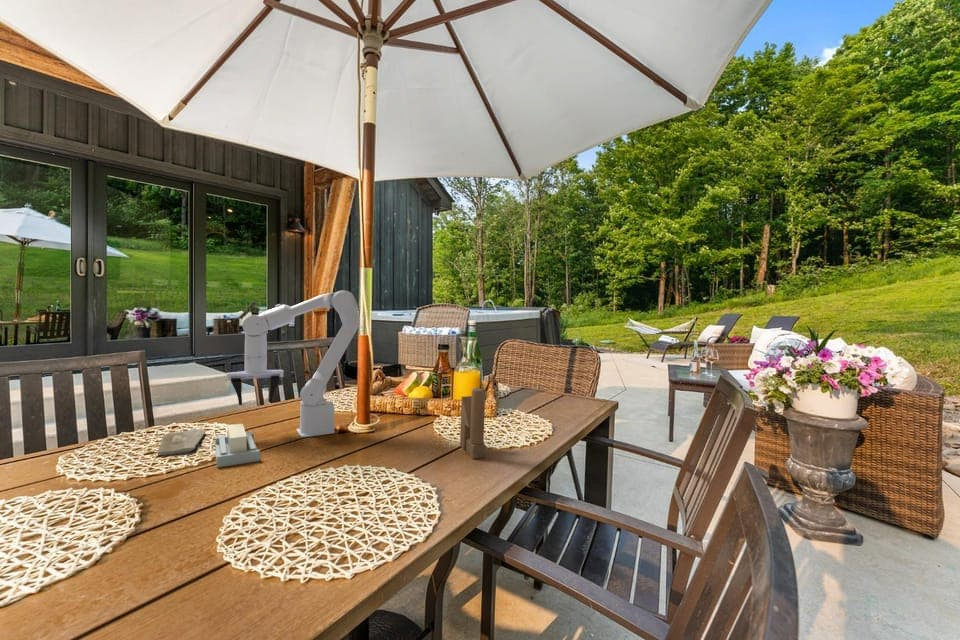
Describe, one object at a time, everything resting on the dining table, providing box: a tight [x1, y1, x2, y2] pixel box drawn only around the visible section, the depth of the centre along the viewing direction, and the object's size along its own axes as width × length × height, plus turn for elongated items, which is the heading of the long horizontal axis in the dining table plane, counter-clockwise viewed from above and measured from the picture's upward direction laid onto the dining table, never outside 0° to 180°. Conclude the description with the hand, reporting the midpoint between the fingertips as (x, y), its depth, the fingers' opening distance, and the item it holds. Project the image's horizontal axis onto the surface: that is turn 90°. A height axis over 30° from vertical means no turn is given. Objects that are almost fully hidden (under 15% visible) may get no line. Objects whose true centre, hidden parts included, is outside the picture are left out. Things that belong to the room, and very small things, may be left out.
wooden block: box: [459, 387, 487, 460], centre depth 117 cm, size 4×11×18 cm, turn 21°
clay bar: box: [227, 423, 247, 454], centre depth 110 cm, size 12×4×5 cm, turn 33°
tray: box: [214, 432, 261, 468], centre depth 110 cm, size 9×16×3 cm, turn 33°
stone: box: [156, 429, 207, 456], centre depth 116 cm, size 18×3×10 cm
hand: (255, 403), depth 124 cm, fingers open, 7 cm apart
